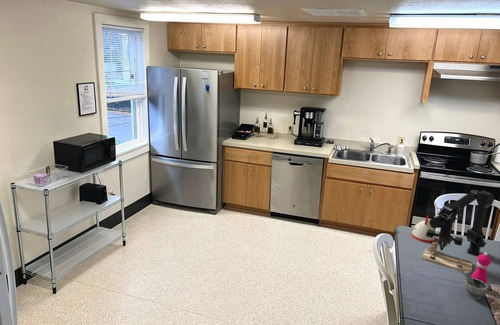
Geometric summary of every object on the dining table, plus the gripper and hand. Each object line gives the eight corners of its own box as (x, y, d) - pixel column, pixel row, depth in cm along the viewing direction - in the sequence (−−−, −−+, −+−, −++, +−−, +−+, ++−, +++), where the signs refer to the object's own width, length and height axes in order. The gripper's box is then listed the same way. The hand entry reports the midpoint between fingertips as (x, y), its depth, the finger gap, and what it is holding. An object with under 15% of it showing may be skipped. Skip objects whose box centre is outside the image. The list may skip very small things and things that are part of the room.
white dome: (435, 236, 242) (440, 215, 238) (433, 244, 231) (437, 223, 227) (413, 230, 249) (417, 210, 245) (410, 238, 238) (414, 217, 234)
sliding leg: (430, 249, 222) (432, 241, 220) (436, 250, 220) (437, 243, 219) (428, 256, 213) (429, 249, 212) (433, 258, 211) (435, 250, 210)
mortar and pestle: (485, 294, 183) (491, 274, 180) (483, 304, 176) (489, 282, 172) (460, 286, 189) (465, 265, 186) (457, 294, 182) (462, 273, 179)
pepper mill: (487, 291, 185) (497, 257, 180) (472, 289, 187) (481, 255, 181) (482, 283, 192) (490, 250, 187) (467, 281, 194) (475, 248, 188)
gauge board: (425, 249, 224) (426, 246, 223) (472, 263, 211) (473, 260, 210) (422, 259, 214) (422, 255, 213) (470, 273, 201) (471, 270, 200)
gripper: (427, 226, 209) (422, 250, 213) (463, 236, 199) (458, 261, 204) (429, 220, 218) (425, 243, 222) (465, 228, 208) (459, 253, 213)
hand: (441, 250), depth 215 cm, fingers closed
